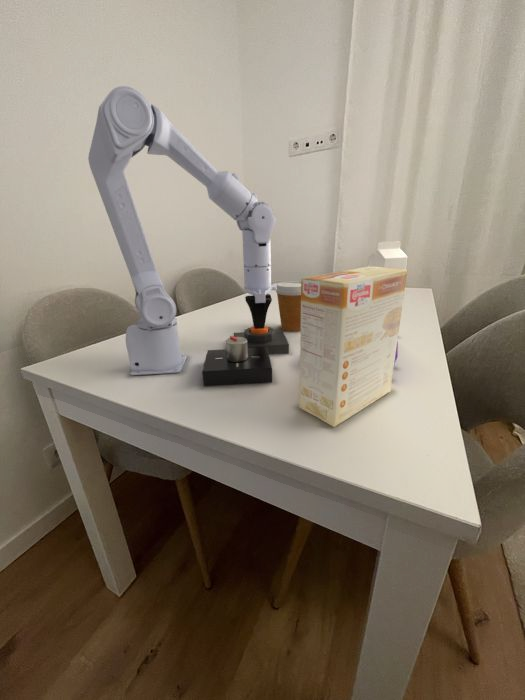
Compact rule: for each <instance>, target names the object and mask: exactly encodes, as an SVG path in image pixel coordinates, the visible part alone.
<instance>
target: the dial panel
mask: <svg viewBox="0 0 525 700" xmlns="http://www.w3.org/2000/svg"><path fill="white" fill-rule="evenodd" d="M205 355H206V356H205V360H204V362H203V367H202V371H201V372H202V382H203V387H205V388H206V387H222V386H239V385H253V384H254V385H255V384H258V385H259V384H271V383H273V366H272V362H271V359H270V355H269V354H268V350H267V347H260V348H248V358H247V359H246V360H244V361H241V362H231V361H228V360H227V357H226V348H225V349H224V348H223V349H207V351H206V354H205Z"/></svg>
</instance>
